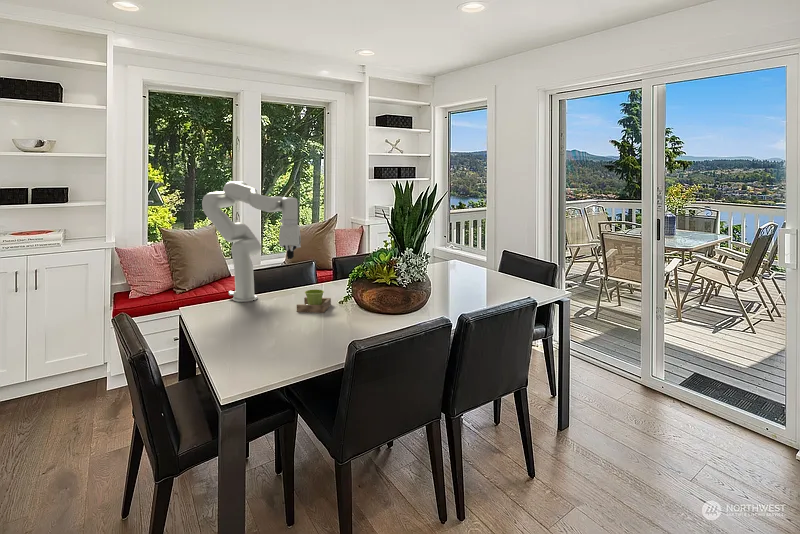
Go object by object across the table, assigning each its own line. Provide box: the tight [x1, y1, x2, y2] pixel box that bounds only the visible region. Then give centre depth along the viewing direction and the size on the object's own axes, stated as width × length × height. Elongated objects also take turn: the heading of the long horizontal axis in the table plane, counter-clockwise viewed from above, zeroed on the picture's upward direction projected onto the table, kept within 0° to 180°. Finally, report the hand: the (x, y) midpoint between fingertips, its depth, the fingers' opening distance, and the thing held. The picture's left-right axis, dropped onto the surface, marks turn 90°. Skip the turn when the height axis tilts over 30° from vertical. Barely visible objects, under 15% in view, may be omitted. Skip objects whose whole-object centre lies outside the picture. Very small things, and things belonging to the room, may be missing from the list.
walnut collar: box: [296, 296, 332, 314], centre depth 242 cm, size 14×15×4 cm
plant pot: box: [304, 289, 325, 305], centre depth 242 cm, size 9×9×9 cm
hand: (290, 258), depth 245 cm, fingers closed
